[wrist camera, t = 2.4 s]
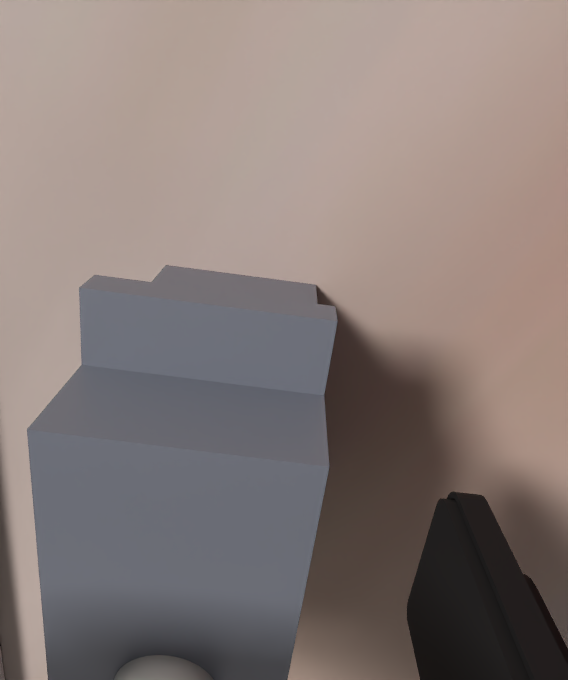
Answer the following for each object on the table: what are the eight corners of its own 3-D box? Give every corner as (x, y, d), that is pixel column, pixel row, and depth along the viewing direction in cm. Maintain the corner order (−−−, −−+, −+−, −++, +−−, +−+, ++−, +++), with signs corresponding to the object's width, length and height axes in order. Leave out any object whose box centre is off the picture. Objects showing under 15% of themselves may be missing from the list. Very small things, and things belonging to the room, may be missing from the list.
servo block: (167, 214, 12) (-10, 361, 5) (323, 235, 12) (350, 406, 5) (157, 501, 16) (41, 820, 9) (279, 516, 16) (260, 845, 9)
